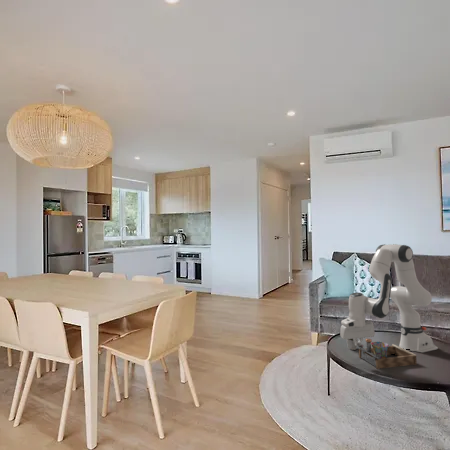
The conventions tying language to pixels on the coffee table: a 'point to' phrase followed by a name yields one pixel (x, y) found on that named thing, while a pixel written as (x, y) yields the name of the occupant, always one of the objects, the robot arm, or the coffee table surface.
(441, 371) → the coffee table surface
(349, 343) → the house plant
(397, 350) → the tray
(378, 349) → the mug
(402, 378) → the coffee table surface
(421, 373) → the coffee table surface
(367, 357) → the ram
